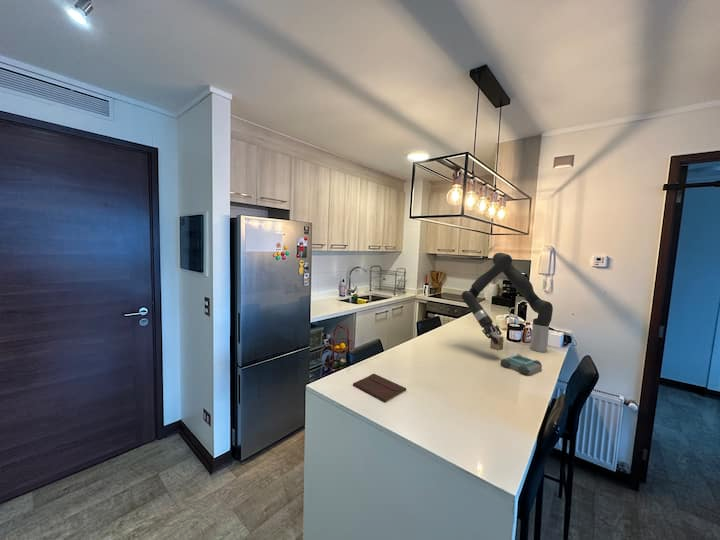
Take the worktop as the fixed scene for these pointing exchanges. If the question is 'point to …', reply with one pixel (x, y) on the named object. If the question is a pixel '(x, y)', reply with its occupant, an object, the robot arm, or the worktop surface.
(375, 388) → the notebook
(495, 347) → the engine block
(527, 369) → the chassis
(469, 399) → the worktop surface
